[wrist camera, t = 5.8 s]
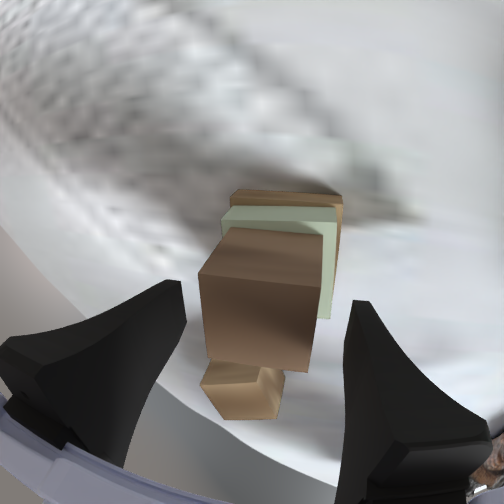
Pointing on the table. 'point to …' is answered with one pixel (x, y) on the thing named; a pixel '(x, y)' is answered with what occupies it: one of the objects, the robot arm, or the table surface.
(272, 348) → the walnut cube
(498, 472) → the bison figurine
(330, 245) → the slab top
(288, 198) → the slab bottom
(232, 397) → the oak cube
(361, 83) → the table surface
